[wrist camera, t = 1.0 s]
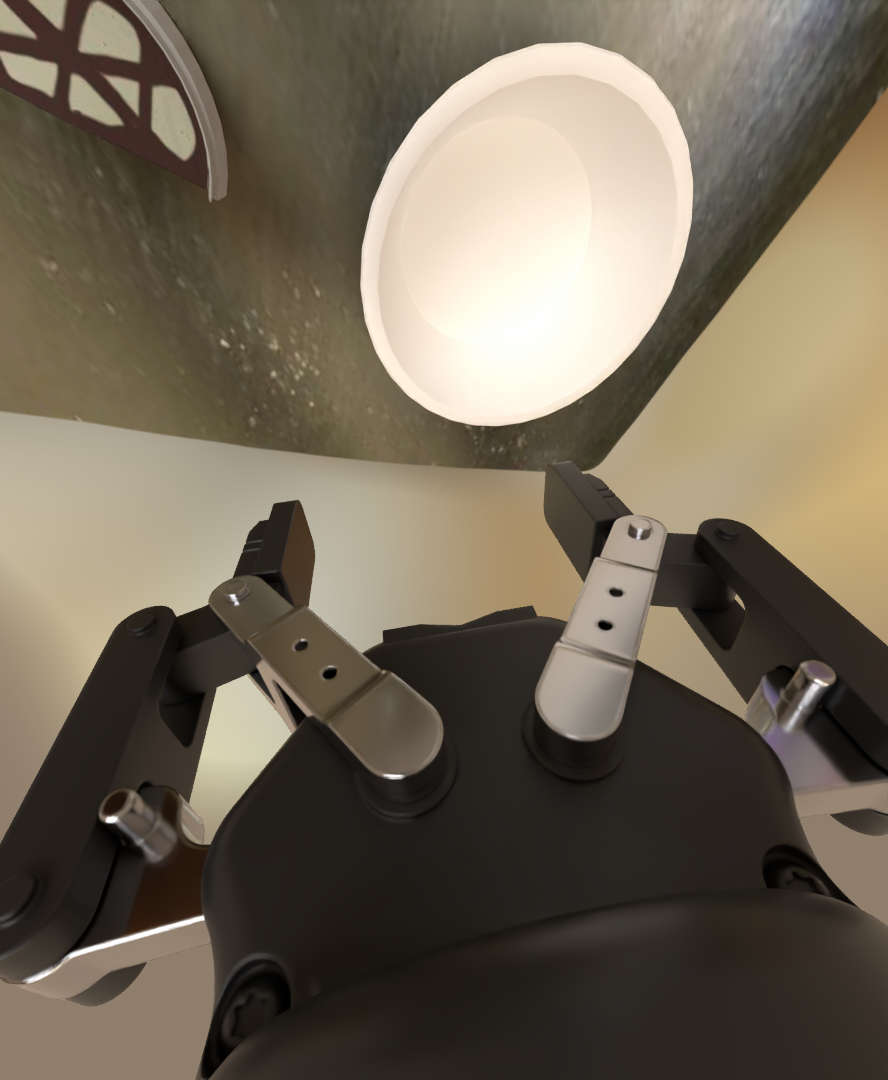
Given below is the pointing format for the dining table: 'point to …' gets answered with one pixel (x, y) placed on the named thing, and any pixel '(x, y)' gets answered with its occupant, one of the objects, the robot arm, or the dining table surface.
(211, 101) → the food container
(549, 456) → the dining table surface
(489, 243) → the bowl
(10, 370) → the dining table surface
